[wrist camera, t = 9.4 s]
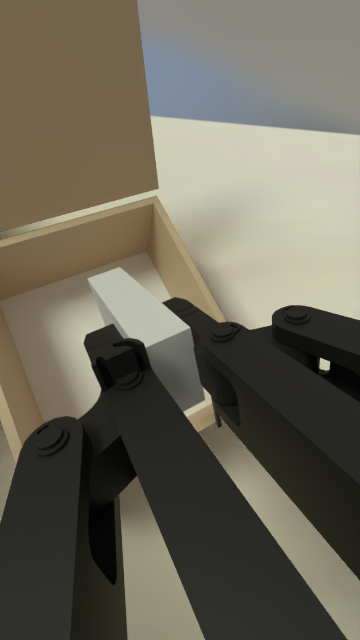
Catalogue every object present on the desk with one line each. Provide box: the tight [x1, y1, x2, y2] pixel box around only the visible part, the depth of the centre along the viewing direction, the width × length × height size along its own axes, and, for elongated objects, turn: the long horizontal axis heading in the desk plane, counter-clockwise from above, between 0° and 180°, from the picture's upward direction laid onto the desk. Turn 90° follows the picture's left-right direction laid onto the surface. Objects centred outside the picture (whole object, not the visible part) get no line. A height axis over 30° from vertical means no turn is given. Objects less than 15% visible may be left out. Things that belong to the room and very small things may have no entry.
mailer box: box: [0, 196, 226, 464], centre depth 24 cm, size 16×18×8 cm
